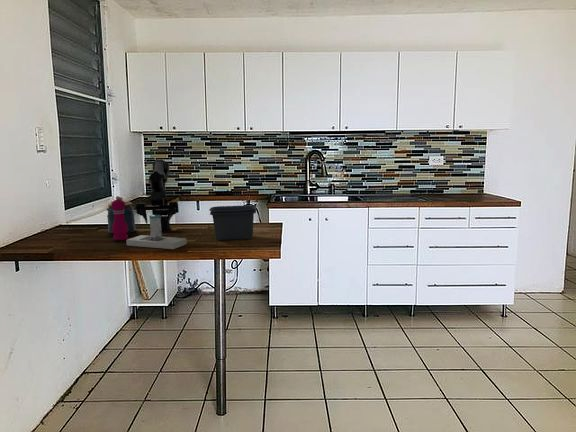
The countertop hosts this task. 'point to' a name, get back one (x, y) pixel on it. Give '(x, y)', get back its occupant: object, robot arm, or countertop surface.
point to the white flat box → (156, 242)
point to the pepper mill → (119, 220)
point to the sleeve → (155, 227)
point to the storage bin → (233, 221)
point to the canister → (127, 216)
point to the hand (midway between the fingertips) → (157, 223)
